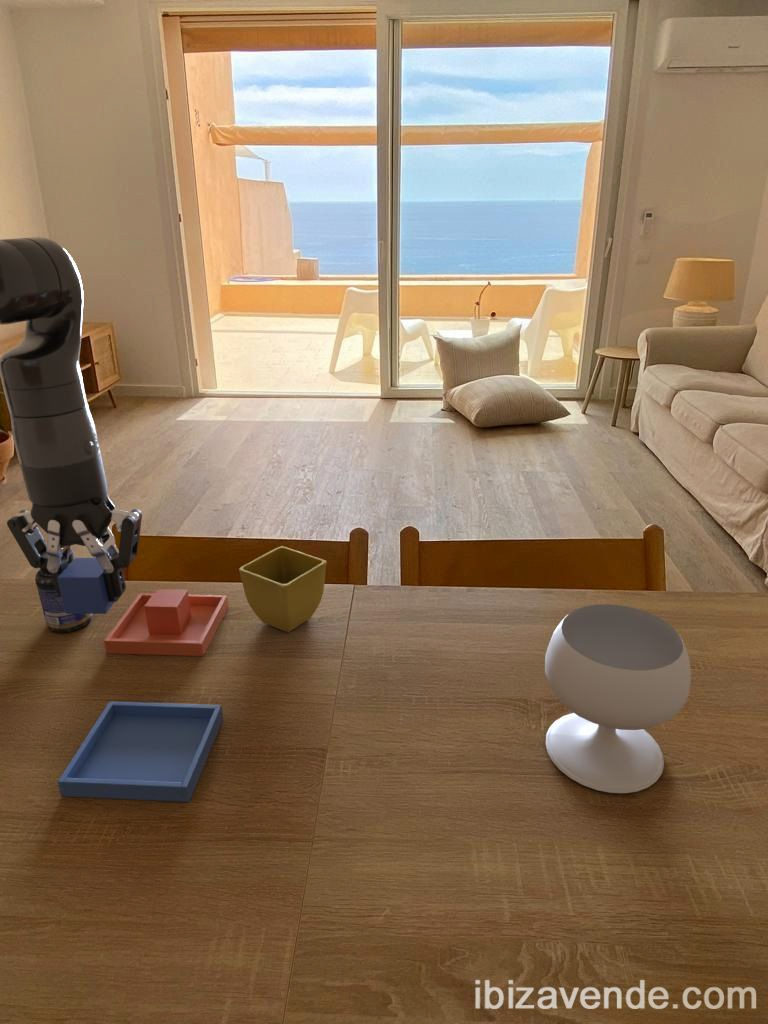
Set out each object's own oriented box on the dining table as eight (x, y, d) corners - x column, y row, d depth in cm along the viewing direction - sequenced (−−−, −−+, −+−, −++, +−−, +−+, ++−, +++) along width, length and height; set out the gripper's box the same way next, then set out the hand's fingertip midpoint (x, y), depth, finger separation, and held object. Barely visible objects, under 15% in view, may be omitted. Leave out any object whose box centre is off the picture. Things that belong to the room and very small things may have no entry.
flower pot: (285, 597, 104) (281, 544, 101) (330, 615, 100) (327, 560, 96) (243, 624, 98) (237, 568, 94) (289, 644, 93) (284, 586, 90)
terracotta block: (149, 634, 95) (143, 606, 93) (160, 616, 99) (156, 589, 97) (181, 635, 95) (176, 607, 93) (191, 617, 99) (187, 590, 97)
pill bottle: (98, 625, 98) (83, 556, 94) (52, 639, 95) (34, 568, 91) (87, 606, 103) (72, 539, 99) (43, 619, 100) (26, 551, 95)
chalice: (525, 780, 71) (536, 659, 65) (548, 697, 83) (559, 588, 77) (671, 820, 66) (699, 694, 60) (673, 726, 78) (696, 612, 72)
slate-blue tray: (61, 796, 70) (57, 781, 69) (112, 714, 81) (109, 701, 80) (189, 802, 69) (186, 787, 68) (223, 718, 80) (221, 705, 79)
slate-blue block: (65, 613, 75) (56, 577, 73) (84, 592, 79) (75, 557, 77) (106, 614, 75) (98, 577, 73) (122, 592, 79) (115, 557, 77)
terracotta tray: (106, 653, 92) (103, 640, 91) (141, 604, 103) (139, 593, 102) (203, 656, 91) (201, 643, 90) (228, 606, 102) (227, 595, 102)
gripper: (142, 439, 73) (168, 581, 80) (10, 440, 73) (47, 581, 80) (114, 464, 66) (144, 617, 73) (-32, 465, 67) (12, 616, 74)
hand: (93, 597), depth 77 cm, fingers closed on slate-blue block, 4 cm apart
